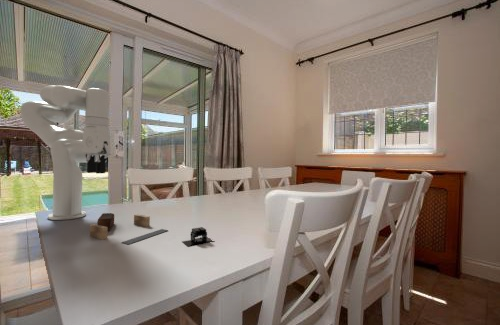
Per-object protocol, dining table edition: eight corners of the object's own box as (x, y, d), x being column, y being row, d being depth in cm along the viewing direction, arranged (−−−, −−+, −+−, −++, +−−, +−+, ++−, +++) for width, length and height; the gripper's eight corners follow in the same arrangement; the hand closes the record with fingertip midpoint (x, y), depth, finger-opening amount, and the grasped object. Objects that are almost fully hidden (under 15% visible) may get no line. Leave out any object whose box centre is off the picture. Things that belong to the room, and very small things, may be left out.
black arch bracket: (183, 250, 71) (183, 235, 71) (174, 243, 77) (175, 228, 76) (221, 243, 78) (222, 229, 78) (211, 236, 84) (211, 223, 84)
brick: (110, 232, 84) (110, 218, 84) (96, 233, 82) (97, 219, 82) (114, 223, 94) (114, 211, 94) (102, 224, 92) (102, 212, 92)
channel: (89, 236, 79) (89, 225, 79) (137, 223, 95) (137, 214, 95) (102, 239, 76) (102, 228, 76) (149, 225, 92) (149, 216, 92)
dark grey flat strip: (121, 242, 74) (121, 242, 74) (161, 229, 88) (161, 228, 88) (128, 244, 72) (128, 244, 72) (168, 230, 87) (168, 230, 87)
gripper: (72, 122, 91) (71, 171, 92) (102, 121, 84) (100, 174, 84) (93, 125, 98) (92, 171, 98) (121, 124, 91) (120, 173, 91)
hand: (96, 172), depth 91 cm, fingers open, 4 cm apart
